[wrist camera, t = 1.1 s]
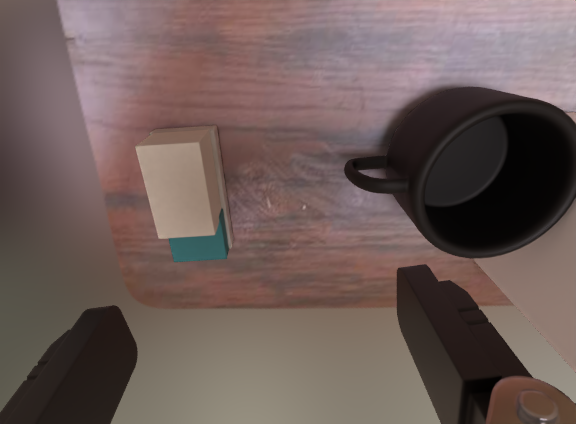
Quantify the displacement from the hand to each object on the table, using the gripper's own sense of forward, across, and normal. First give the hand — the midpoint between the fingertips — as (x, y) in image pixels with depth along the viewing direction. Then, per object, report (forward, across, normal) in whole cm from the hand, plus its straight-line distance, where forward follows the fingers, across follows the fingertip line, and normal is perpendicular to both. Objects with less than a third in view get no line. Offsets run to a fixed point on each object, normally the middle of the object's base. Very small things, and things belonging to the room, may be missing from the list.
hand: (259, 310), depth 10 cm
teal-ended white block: (+16, +6, +1) cm, 17 cm away
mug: (+16, -11, +2) cm, 19 cm away
